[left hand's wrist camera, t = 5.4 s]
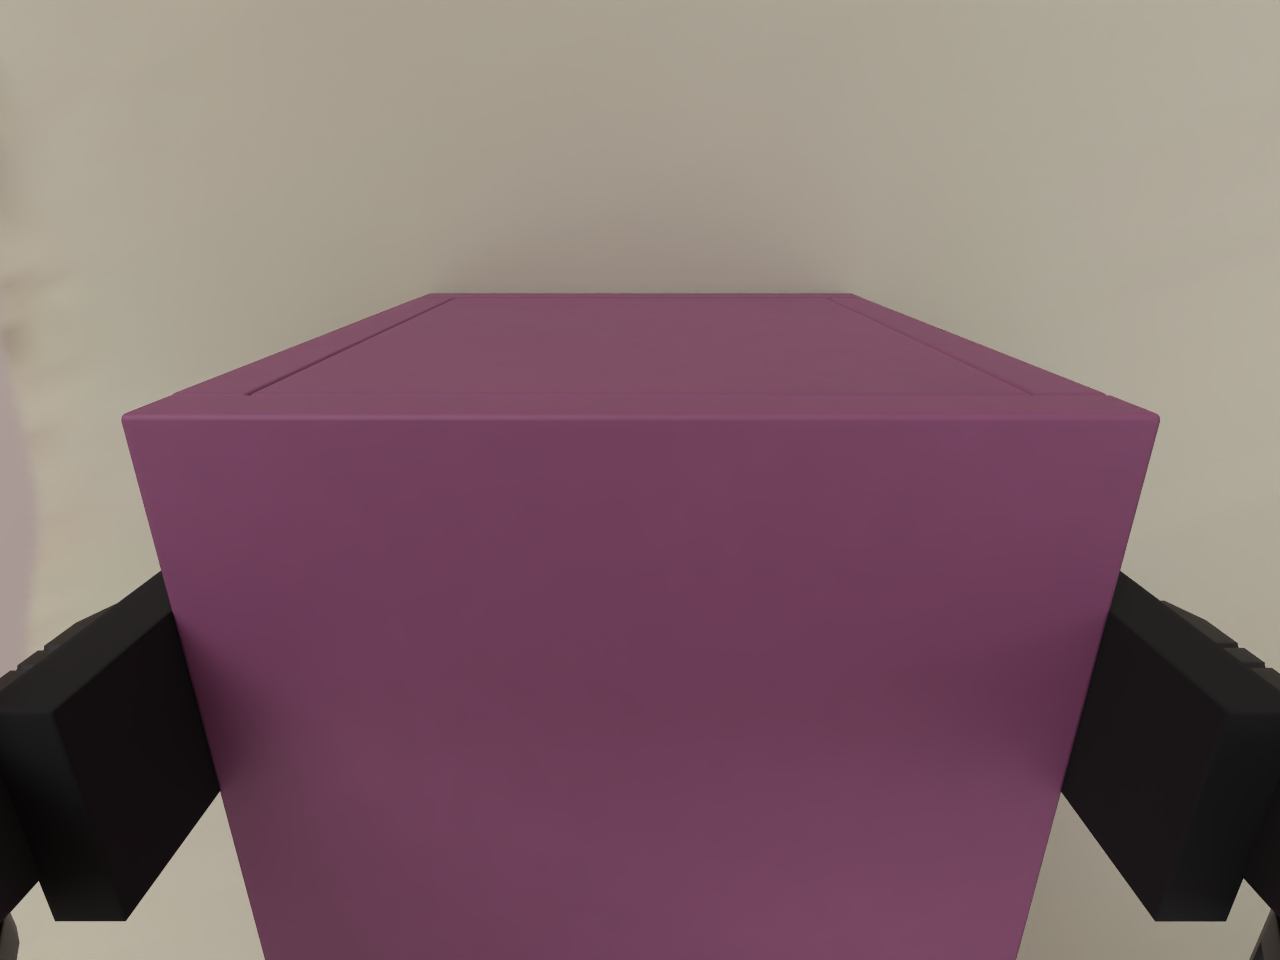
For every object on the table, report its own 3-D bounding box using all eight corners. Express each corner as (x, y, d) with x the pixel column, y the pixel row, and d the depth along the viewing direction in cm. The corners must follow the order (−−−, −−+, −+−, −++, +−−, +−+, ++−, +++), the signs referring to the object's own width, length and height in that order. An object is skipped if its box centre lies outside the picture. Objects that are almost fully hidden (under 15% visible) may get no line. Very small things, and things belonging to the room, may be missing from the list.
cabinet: (803, 778, 24) (939, 1252, 13) (477, 778, 24) (341, 1252, 13) (853, 293, 18) (1164, 414, 7) (427, 293, 18) (115, 415, 7)
